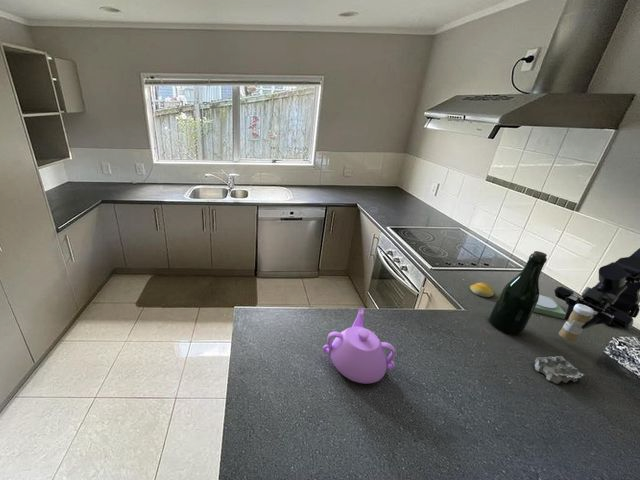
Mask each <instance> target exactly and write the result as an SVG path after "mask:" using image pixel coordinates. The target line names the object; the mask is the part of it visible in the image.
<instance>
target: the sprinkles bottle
mask: <svg viewBox="0 0 640 480" xmlns="http://www.w3.org/2000/svg"><path fill="white" fill-rule="evenodd" d="M594 313H595V311H594V310H593V309H592V308H590V307H588V306H585V305H582V304H576V305H575V306H574V308H573V311H572V313H571V314H570V316H569V317H568V319H567V320H565V322H564V324H563V326H562V328H561V330H560V331H559V332H558V335H559V337H561V338H562V339H565V340H567V341H570V342H576V341H578V340H577V339H578V337H579V336H580V335H581V334H582V331H583V330H584V329H582V326H583V325H584V324H585V323H587V322H588V321H589V320H590V319H591V318H592V317H593V315H594Z"/></svg>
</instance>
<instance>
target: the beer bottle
mask: <svg viewBox="0 0 640 480" xmlns="http://www.w3.org/2000/svg"><path fill="white" fill-rule="evenodd" d="M547 257H548V254H547V253H546V252H542V251H539V250H538V251H537V250H535V251H533V253H531V254H530V255H529V257H528V259H527V262H526V263H525V264H524V267H523V269H522V270H521V271H520V272H519V273H518V274H517V275H516V276H515V277H513V278H512V279H511V280H509V281H508V282H507V283H506V284H505V285H504V287H503V288H502V290H501V292H500V293H499V296H498V298H497V300H496V301H495V303H494V306H493V308H492V310H491V312H490V314H489V316H488V321H489V323H490V324H491V325H492V326H493V327H494V328H496V329H497V330H499V331H501V332H503V333H505V334H508V335H513V336H518V335H521V334H523V332H524V331H525V329H526V327H527V326H528V323H529V321H530V319H531V317H532V315H533V313H534V312H533V311H534V309H535V307H536V304H537V302H538V299H539V295H540V285H539V284H540V282H539V281H540V275H541V273H542V270H543V268H544V266H545V264H546V263H547V261H548V259H547Z"/></svg>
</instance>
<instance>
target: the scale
mask: <svg viewBox="0 0 640 480" xmlns="http://www.w3.org/2000/svg"><path fill="white" fill-rule="evenodd" d="M533 313H536V314H541V315H546V316H550V317H554V318H558V319H563V320H565V316H566V313H567V312H565V311H564V310H563V308H561V306H560V305H559V304H558V303H557V302H556V300H555V299H554V298H553V297H551V296H546V295H542V294H539V299H538V302H537V304H536V307H535V309H534V311H533Z"/></svg>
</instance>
